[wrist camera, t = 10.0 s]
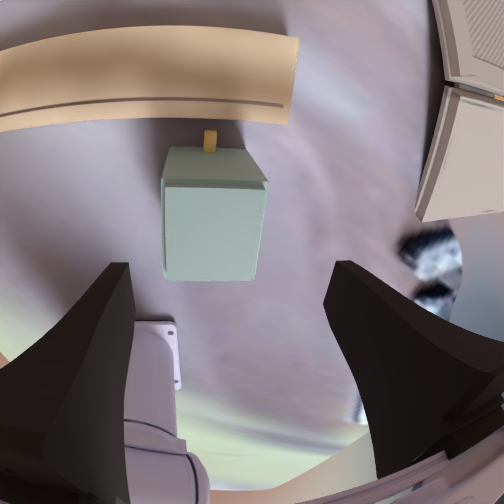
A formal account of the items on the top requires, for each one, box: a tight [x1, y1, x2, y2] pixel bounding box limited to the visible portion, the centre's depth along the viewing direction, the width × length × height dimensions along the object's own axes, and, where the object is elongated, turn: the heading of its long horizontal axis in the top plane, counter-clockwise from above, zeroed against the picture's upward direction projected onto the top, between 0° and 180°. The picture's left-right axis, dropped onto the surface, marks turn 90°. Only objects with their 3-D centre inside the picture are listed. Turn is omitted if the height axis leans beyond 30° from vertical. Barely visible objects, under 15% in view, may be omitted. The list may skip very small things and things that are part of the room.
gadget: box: [414, 0, 504, 222], centre depth 17 cm, size 23×15×4 cm, turn 3°
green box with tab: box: [161, 130, 269, 281], centre depth 16 cm, size 6×4×6 cm
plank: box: [0, 26, 300, 132], centre depth 13 cm, size 5×22×2 cm, turn 84°
